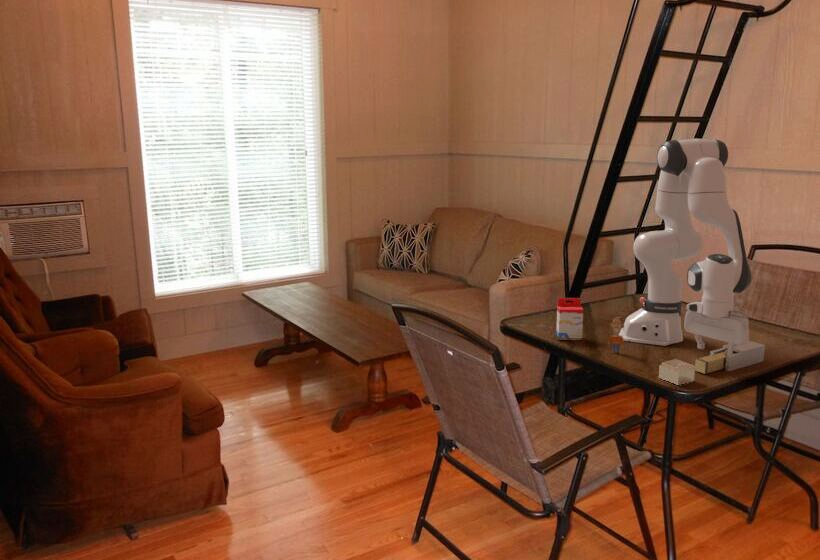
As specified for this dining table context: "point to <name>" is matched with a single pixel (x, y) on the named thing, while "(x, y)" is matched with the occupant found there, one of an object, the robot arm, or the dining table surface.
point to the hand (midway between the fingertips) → (714, 352)
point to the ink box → (569, 318)
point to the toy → (616, 333)
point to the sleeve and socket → (685, 372)
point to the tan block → (711, 362)
